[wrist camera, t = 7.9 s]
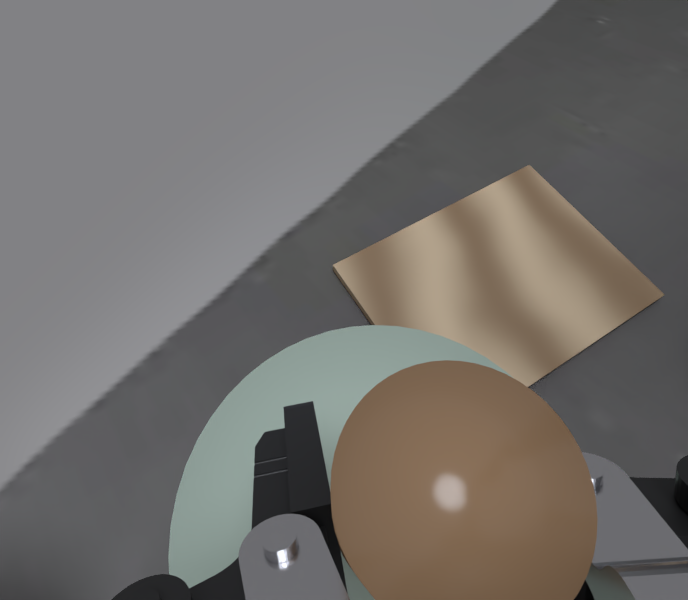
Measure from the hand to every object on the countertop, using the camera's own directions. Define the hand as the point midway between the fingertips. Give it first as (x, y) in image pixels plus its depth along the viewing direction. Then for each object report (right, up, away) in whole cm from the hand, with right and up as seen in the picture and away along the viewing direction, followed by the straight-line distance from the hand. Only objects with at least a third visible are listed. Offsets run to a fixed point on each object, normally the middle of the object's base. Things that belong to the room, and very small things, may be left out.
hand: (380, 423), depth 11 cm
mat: (+8, +4, +17) cm, 20 cm away
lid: (0, -4, +3) cm, 5 cm away
